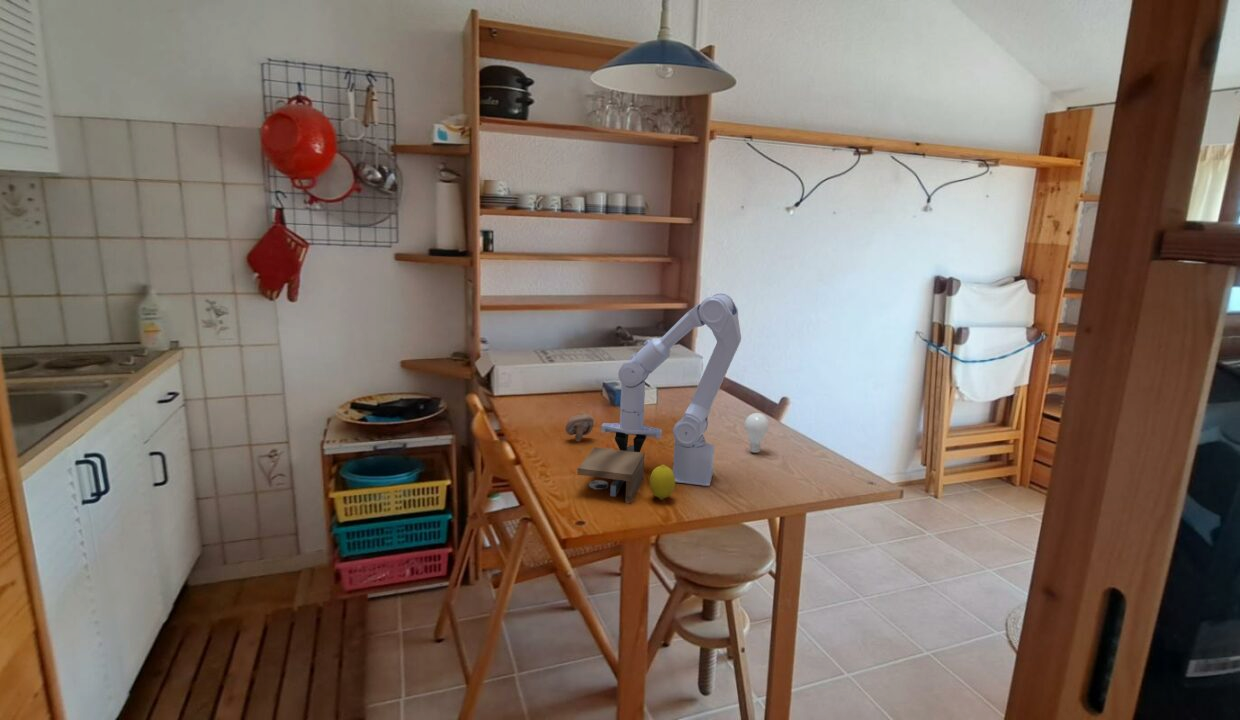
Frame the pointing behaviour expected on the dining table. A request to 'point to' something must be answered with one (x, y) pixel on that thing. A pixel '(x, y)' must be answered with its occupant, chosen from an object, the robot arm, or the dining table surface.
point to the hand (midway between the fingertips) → (630, 462)
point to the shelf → (615, 467)
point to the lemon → (662, 481)
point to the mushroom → (579, 425)
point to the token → (598, 484)
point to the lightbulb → (756, 430)
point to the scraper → (618, 483)
